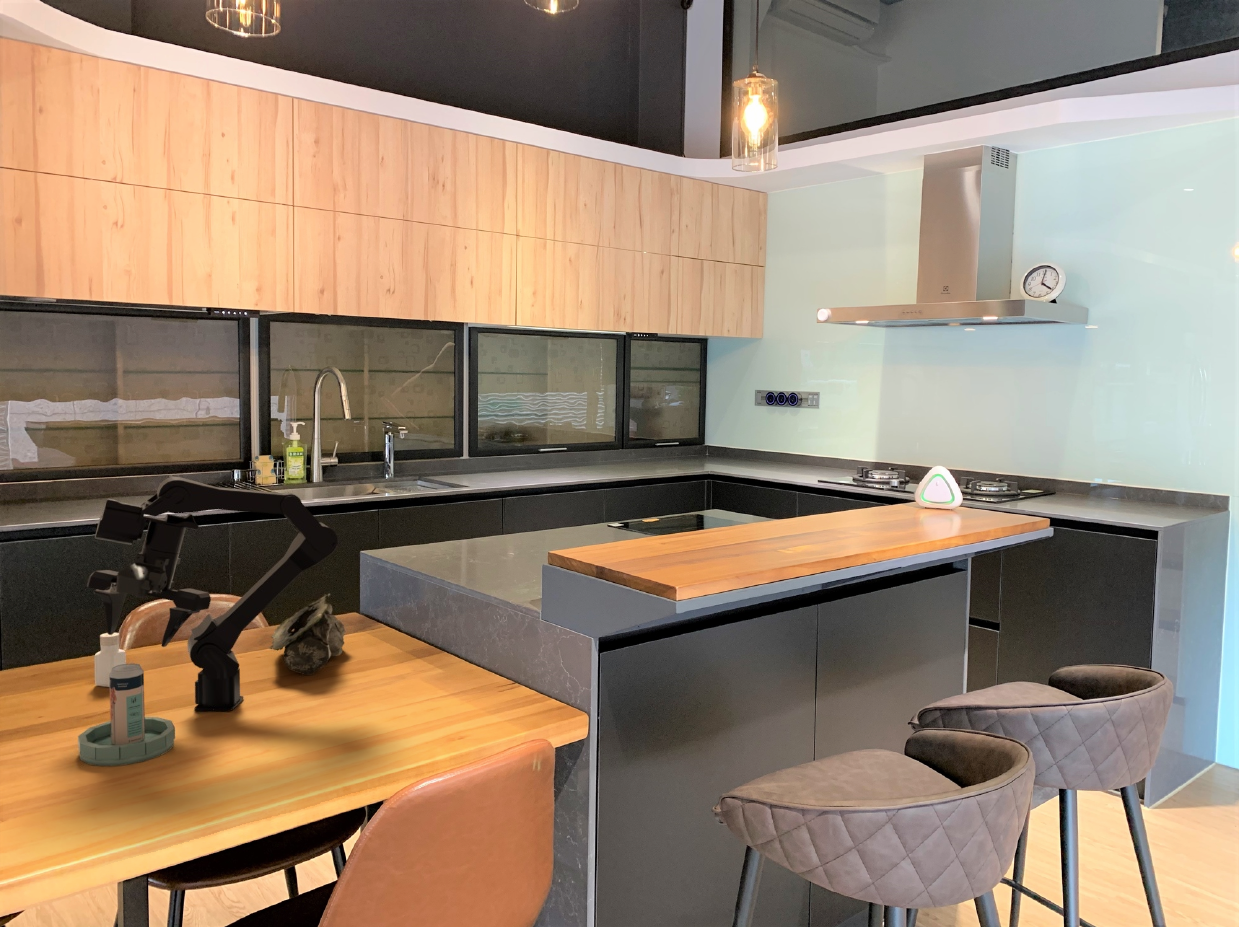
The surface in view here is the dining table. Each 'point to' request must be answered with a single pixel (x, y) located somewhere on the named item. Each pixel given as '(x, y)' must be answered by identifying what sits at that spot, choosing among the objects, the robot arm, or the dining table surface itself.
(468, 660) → the dining table surface
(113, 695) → the beer can
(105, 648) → the pepper shaker
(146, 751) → the bowl
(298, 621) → the driftwood piece
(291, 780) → the dining table surface
